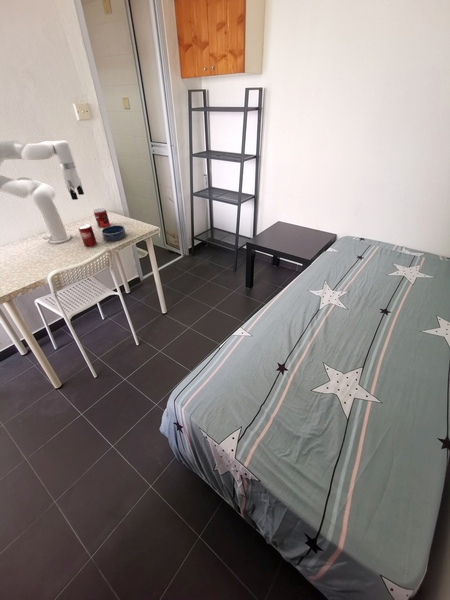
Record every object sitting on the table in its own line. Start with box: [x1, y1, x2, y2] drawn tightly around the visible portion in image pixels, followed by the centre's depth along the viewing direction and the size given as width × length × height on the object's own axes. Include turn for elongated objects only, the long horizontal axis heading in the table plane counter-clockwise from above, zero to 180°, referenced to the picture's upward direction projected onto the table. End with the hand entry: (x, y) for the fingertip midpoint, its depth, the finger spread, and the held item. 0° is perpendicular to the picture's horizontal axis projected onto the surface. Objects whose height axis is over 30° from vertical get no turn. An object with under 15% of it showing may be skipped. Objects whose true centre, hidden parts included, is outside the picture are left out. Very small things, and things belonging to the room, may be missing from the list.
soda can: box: [77, 223, 98, 248], centre depth 169 cm, size 7×7×12 cm
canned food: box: [93, 207, 111, 229], centre depth 194 cm, size 8×8×11 cm
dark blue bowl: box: [101, 224, 127, 242], centre depth 179 cm, size 14×14×5 cm
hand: (78, 196), depth 169 cm, fingers open, 9 cm apart
